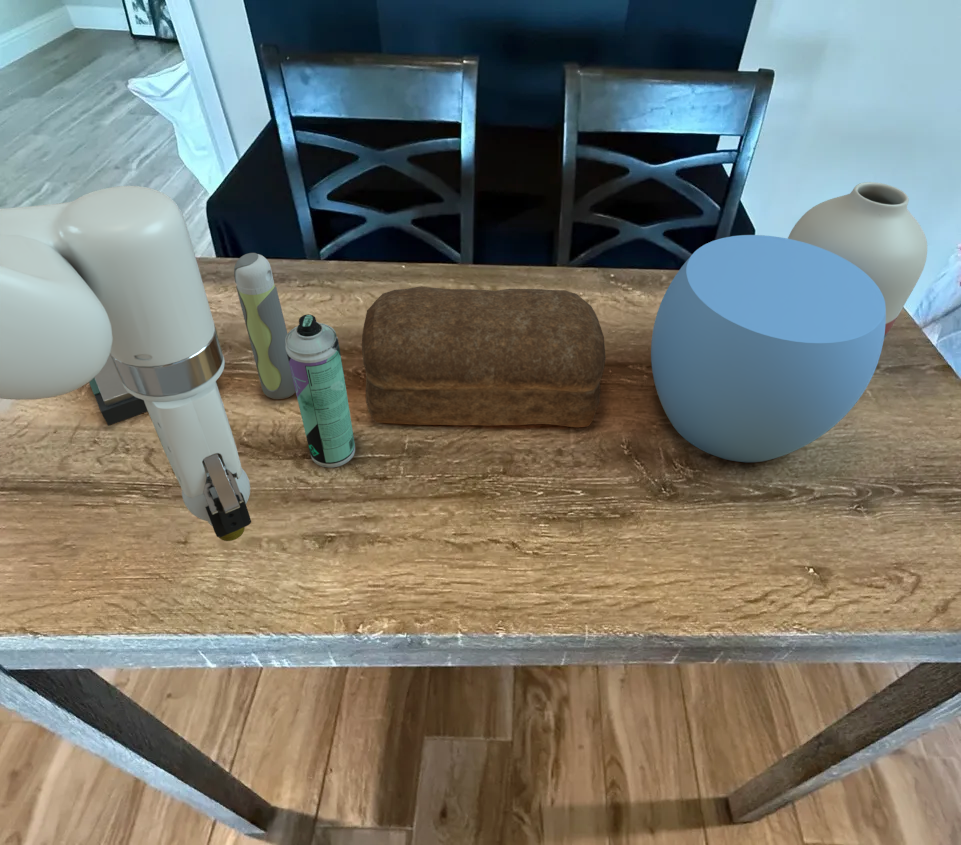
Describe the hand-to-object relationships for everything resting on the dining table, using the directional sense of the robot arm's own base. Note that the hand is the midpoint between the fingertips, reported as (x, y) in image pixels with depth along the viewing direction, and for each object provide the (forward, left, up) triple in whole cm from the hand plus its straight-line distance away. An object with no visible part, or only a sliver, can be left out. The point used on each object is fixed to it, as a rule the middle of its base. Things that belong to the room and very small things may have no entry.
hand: (221, 503), depth 64 cm
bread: (+37, +10, -11) cm, 39 cm away
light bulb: (0, 0, -5) cm, 5 cm away
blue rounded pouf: (+62, -12, -11) cm, 64 cm away
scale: (0, +35, -11) cm, 37 cm away
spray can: (+15, +10, -11) cm, 21 cm away
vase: (+84, -8, -11) cm, 85 cm away
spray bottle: (+14, +24, -11) cm, 30 cm away
